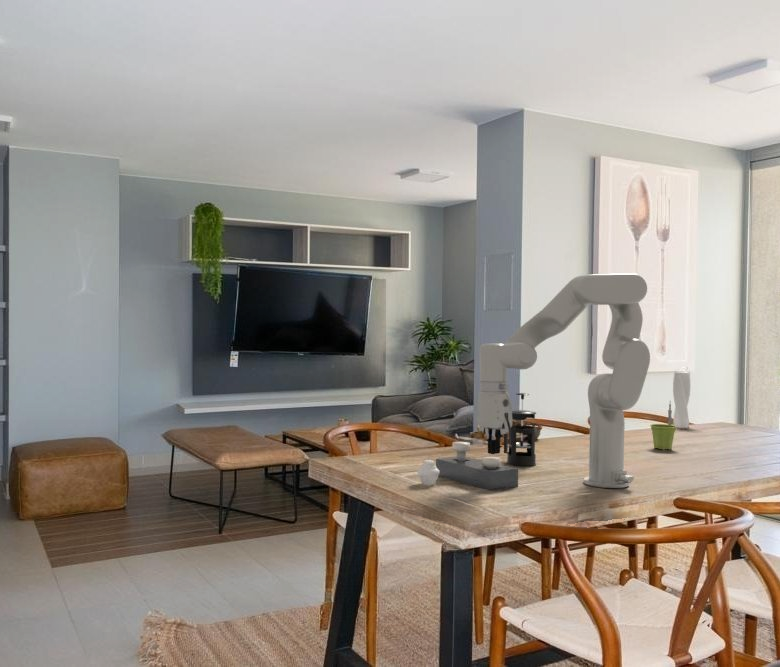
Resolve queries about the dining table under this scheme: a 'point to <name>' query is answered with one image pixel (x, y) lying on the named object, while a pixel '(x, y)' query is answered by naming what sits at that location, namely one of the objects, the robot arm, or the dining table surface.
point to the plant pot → (663, 435)
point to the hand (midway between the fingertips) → (493, 453)
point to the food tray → (481, 436)
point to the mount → (477, 473)
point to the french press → (521, 457)
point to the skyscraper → (680, 399)
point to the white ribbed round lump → (428, 473)
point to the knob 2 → (491, 462)
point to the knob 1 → (461, 450)
